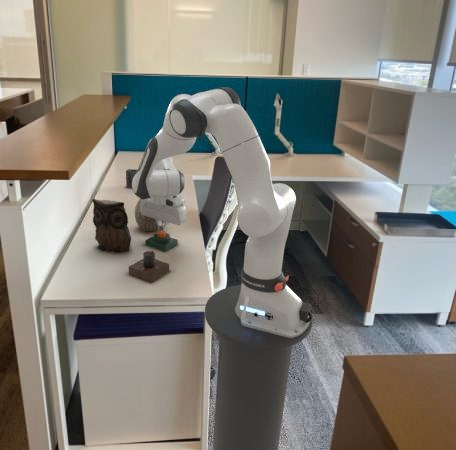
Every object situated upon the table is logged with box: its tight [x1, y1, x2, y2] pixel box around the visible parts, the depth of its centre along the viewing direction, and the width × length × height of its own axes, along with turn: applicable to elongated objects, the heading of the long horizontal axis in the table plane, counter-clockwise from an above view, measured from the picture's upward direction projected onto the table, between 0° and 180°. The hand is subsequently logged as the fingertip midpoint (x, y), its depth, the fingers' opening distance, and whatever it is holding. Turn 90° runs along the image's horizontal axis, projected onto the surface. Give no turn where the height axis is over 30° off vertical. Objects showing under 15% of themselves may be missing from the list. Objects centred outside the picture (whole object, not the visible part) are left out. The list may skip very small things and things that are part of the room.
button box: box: [145, 232, 179, 252], centre depth 177 cm, size 10×8×4 cm
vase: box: [134, 198, 164, 232], centre depth 189 cm, size 13×13×18 cm
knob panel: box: [128, 258, 170, 283], centre depth 155 cm, size 10×10×3 cm
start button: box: [156, 230, 167, 238], centre depth 176 cm, size 4×4×2 cm
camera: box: [125, 168, 138, 189], centre depth 243 cm, size 16×4×10 cm, turn 77°
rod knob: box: [142, 250, 156, 268], centre depth 153 cm, size 4×4×5 cm
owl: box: [92, 198, 132, 254], centre depth 169 cm, size 13×13×20 cm
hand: (162, 230), depth 175 cm, fingers closed
